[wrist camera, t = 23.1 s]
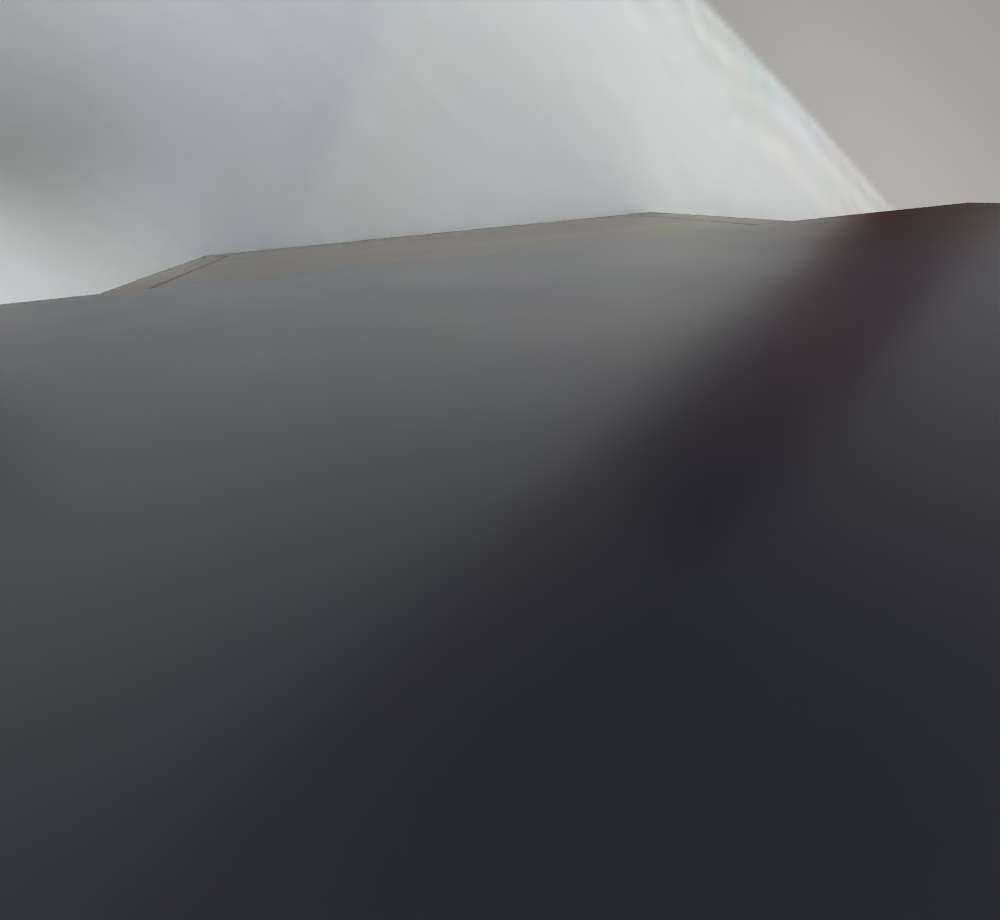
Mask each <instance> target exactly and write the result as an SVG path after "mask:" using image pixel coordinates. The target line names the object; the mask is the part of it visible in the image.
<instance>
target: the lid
mask: <svg viewBox="0 0 1000 920" xmlns="http://www.w3.org/2000/svg"><path fill="white" fill-rule="evenodd" d="M0 920H1000V203H961V204H952V205H943V206H934V207H923V208H914V209H904V210H895V211H885V212H876V213H866V214H857V215H847V216H837V217H828V218H818V219H809V220H799V221H790V222H780V223H771V224H761V225H752V226H742V227H733V228H723V229H714V230H704V231H695V232H685V233H676V234H666V235H657V236H647V237H638V238H628V239H619V240H609V241H600V242H590V243H581V244H571V245H562V246H552V247H543V248H533V249H524V250H514V251H505V252H495V253H486V254H476V255H467V256H457V257H448V258H438V259H429V260H419V261H410V262H400V263H391V264H381V265H372V266H362V267H353V268H343V269H334V270H324V271H315V272H305V273H296V274H286V275H277V276H267V277H258V278H248V279H239V280H229V281H220V282H210V283H201V284H191V285H182V286H172V287H163V288H153V289H144V290H134V291H125V292H115V293H106V294H96V295H87V296H77V297H68V298H58V299H49V300H39V301H30V302H20V303H11V304H1V305H0Z"/></svg>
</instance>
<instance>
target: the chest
mask: <svg viewBox="0 0 1000 920" xmlns="http://www.w3.org/2000/svg"><path fill="white" fill-rule="evenodd" d="M780 222H790V221H782V220H766V219H750V218H734V217H718V216H703V215H687V214H671V213H655V212H649V213H639V214H629V215H619V216H608V217H598V218H588V219H578V220H568V221H557V222H547V223H537V224H527V225H517V226H506V227H496V228H486V229H476V230H466V231H455V232H445V233H435V234H425V235H415V236H404V237H394V238H384V239H374V240H364V241H353V242H343V243H333V244H323V245H313V246H302V247H292V248H282V249H272V250H262V251H252V252H241V253H231V254H221V255H211V256H204V257H201V258H198V259H195V260H192V261H189V262H187V263H184V264H181V265H178V266H175V267H173V268H170V269H167V270H164V271H162V272H159V273H156V274H153V275H150V276H148V277H145V278H142V279H139V280H136V281H134V282H131V283H128V284H125V285H122V286H120V287H117V288H114V289H111V290H109V291H106V292H103V293H100V294H106V293H115V292H125V291H134V290H144V289H153V288H163V287H172V286H182V285H191V284H201V283H210V282H220V281H229V280H239V279H248V278H258V277H267V276H277V275H286V274H296V273H305V272H315V271H324V270H334V269H343V268H353V267H362V266H372V265H381V264H391V263H400V262H410V261H419V260H429V259H438V258H448V257H457V256H467V255H476V254H486V253H495V252H505V251H514V250H524V249H533V248H543V247H552V246H562V245H571V244H581V243H590V242H600V241H609V240H619V239H628V238H638V237H647V236H657V235H666V234H676V233H685V232H695V231H704V230H714V229H723V228H733V227H742V226H752V225H761V224H771V223H780Z"/></svg>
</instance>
